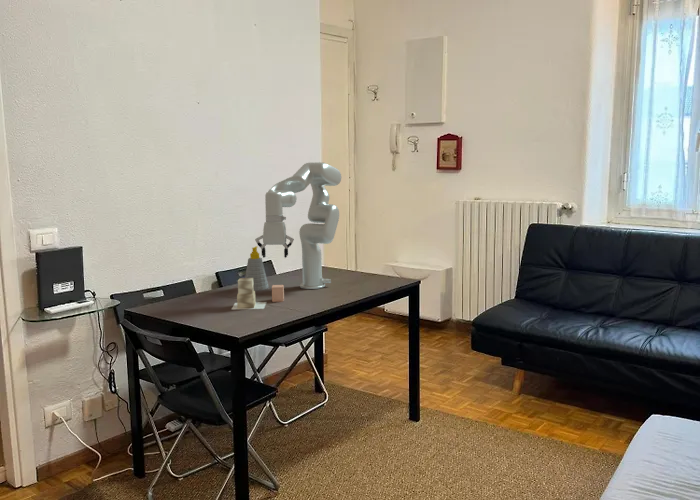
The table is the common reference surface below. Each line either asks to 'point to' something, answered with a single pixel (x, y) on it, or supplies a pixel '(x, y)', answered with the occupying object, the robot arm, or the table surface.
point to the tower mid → (245, 286)
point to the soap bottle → (256, 271)
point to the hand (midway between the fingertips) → (274, 257)
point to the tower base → (246, 300)
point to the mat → (257, 306)
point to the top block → (277, 293)
